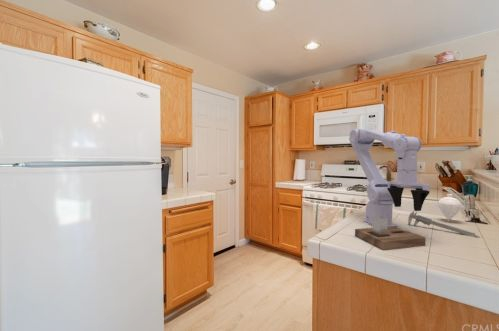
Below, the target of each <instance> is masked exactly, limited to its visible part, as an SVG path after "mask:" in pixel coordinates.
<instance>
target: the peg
mask: <svg viewBox="0 0 499 331" xmlns="http://www.w3.org/2000/svg"><path fill="white" fill-rule="evenodd" d="M371 225H372V226H371V228H372V235H374V236H376V237H386V236H387V225H388V218H385V217H382V216H373V221H372V224H371Z"/></svg>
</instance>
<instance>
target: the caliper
mask: <svg viewBox="0 0 499 331" xmlns="http://www.w3.org/2000/svg"><path fill="white" fill-rule="evenodd" d="M407 219H408V220H407V222H408V223H407V225H408V226H411V223H412V220H413V219H414V223H413V227H416V226H417V225H418V224H419V223H420V222H421V224H424V225H427V226H430V225H433V226H435V227H440V228H442V229H446V230H448V231H451V232H455V233H458V234H461V235H464V236H468V237H472V238H474V237H476V238H479V239H480V238H481V236H479V235H478V234H476V232H474V231H473V232H472V231H469V230H466V229H462V228H461V227H460V228H459V227H455V226H453V225H449V224H446V223H442V222H439V221H436V220H433V219H432V218H429V217H427V216H423V215H422V214H421V215H419V214H418V211H414V210H412V212H410V214H409V215H408V218H407Z"/></svg>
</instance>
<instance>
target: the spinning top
mask: <svg viewBox="0 0 499 331" xmlns="http://www.w3.org/2000/svg"><path fill="white" fill-rule="evenodd" d="M437 208H438V209H439V210H440V212H441V213H442V215H443V216H444V217H445V218H446V219H447V221H448V223H449V222H450V220H452V219H453V218H455V216H457V215H458V214H459V213H460V211H461V210H462V208H463V206H462V202H461V201H460V200H459V199H458V198H456V197H454V194H453V193H447V194H446V196H445V197H444V196H443V197H441V198H440V199H439V200H438V202H437Z"/></svg>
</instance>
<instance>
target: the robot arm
mask: <svg viewBox="0 0 499 331" xmlns="http://www.w3.org/2000/svg"><path fill="white" fill-rule="evenodd" d="M348 140H349V143H350V144H351V146H352V149H353V150H354V154H355V156H356V158H357V161H358V162H359V164H360V166H361V169H362V170H363V172H364V175H365V177H366V179H367V181H368V184H367V185H366V186H365V190H366V193H367V194H366V195H367V198H368V200H369V201H368V202H367V203H366V205H365V219H363V221H364V222H365V223H368V224H371V225H372V221H373V216H382V217H385V218H388V225H387V226H394V227H398V224H396V223H393V205H394V208H395V207H396V208H401V206H402V196H403V192H404V189H410V192H411V195H412V199H413V211H414V212H421V211H422V208H423V206H424V203H425V200H426V198H427V197H428V196H429V194H430V193H431V192H430V191H431V183H430V184H428V183H421V182H420V183H419V182H418V152H419V151H420V150H421V148H422V140H421V139H420V138H419V137H417V136H408V135H407V134H404V133H401V134H400V133H397V131H396V130H390V131H387V132H382V131H380V130H377V129H373V128H370V129H369V128H368V129H367V128H366V129H363V128H352V129H351V131H350V132H349V138H348ZM375 141H380V142H381V144H382V145H383V146H385V147H388V148H390V149H393V150H394V152H395V157H396V158H397V164H396V165H397V168H396V169H397V170H396V171H397V174H396V175H397V181H395V180H393V181H390V180H389V181H388V180H387V179H385V178H383V176H382V173H381V172H380V170H379V168H378V167H377V164H376V163H375V161H374V159H373V157H372V155H371V153H370V151H369V150H371V149H372V147H373V144H374V143H375Z"/></svg>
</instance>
